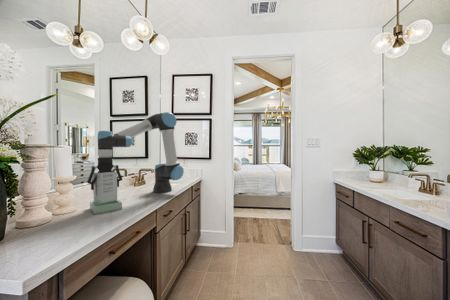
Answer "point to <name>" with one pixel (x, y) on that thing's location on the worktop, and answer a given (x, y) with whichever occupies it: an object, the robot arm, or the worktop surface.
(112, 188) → the supplement box
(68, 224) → the worktop surface
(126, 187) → the worktop surface
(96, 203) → the tray
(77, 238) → the worktop surface
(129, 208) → the worktop surface
